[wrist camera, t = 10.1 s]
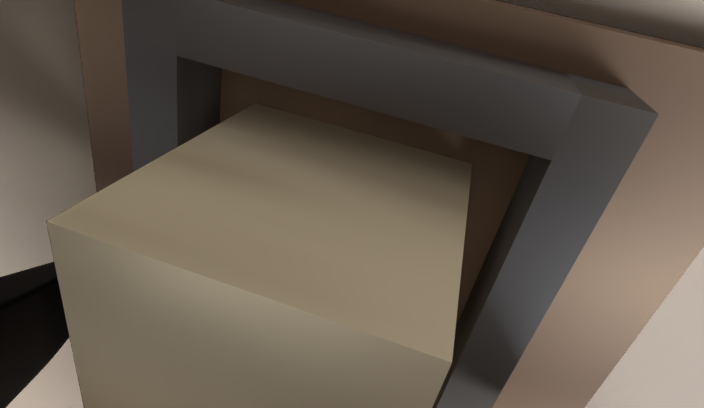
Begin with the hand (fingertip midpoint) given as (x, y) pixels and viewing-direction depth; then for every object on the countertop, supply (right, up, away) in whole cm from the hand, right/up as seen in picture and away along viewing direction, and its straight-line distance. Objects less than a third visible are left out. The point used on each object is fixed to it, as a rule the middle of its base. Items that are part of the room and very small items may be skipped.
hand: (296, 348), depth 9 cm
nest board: (+1, +2, +3) cm, 3 cm away
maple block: (+1, +1, +2) cm, 2 cm away
